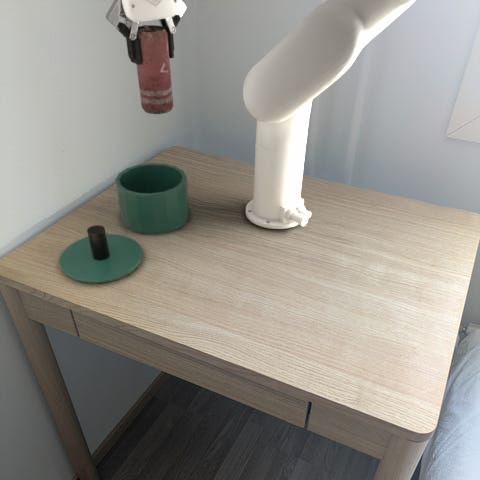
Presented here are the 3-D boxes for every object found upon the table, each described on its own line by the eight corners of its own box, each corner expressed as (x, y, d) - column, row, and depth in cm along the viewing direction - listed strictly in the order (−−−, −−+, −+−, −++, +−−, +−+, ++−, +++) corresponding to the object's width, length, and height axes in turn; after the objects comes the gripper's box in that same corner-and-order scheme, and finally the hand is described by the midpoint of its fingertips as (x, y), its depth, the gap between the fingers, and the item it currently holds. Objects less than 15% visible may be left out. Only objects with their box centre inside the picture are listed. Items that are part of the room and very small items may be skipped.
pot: (201, 219, 101) (200, 180, 96) (145, 242, 95) (140, 202, 89) (164, 194, 109) (160, 157, 103) (109, 214, 102) (102, 175, 96)
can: (162, 101, 100) (154, 22, 90) (179, 110, 96) (173, 28, 87) (135, 107, 97) (125, 26, 88) (152, 117, 93) (143, 33, 84)
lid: (158, 263, 89) (154, 232, 85) (84, 296, 82) (76, 264, 78) (117, 230, 98) (111, 200, 93) (47, 257, 90) (37, 226, 86)
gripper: (101, -59, 72) (120, 73, 84) (197, -65, 81) (202, 56, 93) (79, -63, 77) (100, 63, 89) (172, -68, 85) (180, 48, 97)
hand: (152, 58), depth 91 cm, fingers closed on can, 6 cm apart
